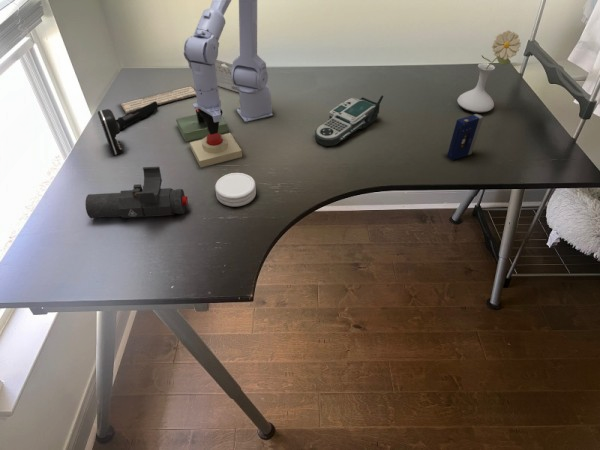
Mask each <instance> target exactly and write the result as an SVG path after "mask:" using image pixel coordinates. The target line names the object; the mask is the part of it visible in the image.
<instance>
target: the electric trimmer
mask: <svg viewBox="0 0 600 450" xmlns="http://www.w3.org/2000/svg"><path fill="white" fill-rule="evenodd" d="M158 106H159V105H157V102H153V103H151V104H148V105H146V106H144V107H142V108H140V109H138V110H136V111H133V112H131V113H127V114H125V115H123V116H120V117H119V116H118V118H117V119H116V122H117V124H118V127H119V130H120V131H123V130H124V129H125V127H127V126H129V125H131V124H133V123H135V122H136V121H138V120H140V119H145V118H147V117H149V116H150V115H151V114H152V113H154V112H155V111H157V110H158V108H159V107H158Z"/></svg>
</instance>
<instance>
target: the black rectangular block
mask: <svg viewBox="0 0 600 450" xmlns="http://www.w3.org/2000/svg"><path fill="white" fill-rule="evenodd" d="M195 115H197V120H198V122H199V123H201V122H205V121H204V119H203V117H202V116H201V114H200V113H199V111H198V109H195Z"/></svg>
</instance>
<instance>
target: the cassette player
mask: <svg viewBox="0 0 600 450" xmlns="http://www.w3.org/2000/svg"><path fill="white" fill-rule="evenodd" d="M483 119H484V116H482V115H481V114H478V113H474V114H471V115H468V116H465V117H461V118H458V119H456V122H455V125H454V129H453V133H452V136H451V140H450V144H449V147H448V150H447V154H446V158H448V159H449V160H451V161H454V160H455V161H456V160H458V159H461V158H463V157H467V156H469V155H472V154H473V150H474V148H475V144H476V141H477V139H478V136H479V131H480V129H481V127H482V123H483Z"/></svg>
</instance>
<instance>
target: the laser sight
mask: <svg viewBox="0 0 600 450" xmlns="http://www.w3.org/2000/svg"><path fill="white" fill-rule="evenodd" d="M142 171H143V185H142V184H141V183H140V184H139V183H138V184H133V188H132V189H129V190H126V189H125V190H120V192H110V193H109V192H108V193H90V194H87V195H86V197H85V203H84V205H85V211H86V214H87V216H88V218H90V219H95V218H113V217H115V218H116V217H122V218H125V219H127V218H145V217H162V216H163V217H165V216H175V214H185V212H186V206H187V207H188V205H189V199H188V195H187V196H186V195H185V191H184V189H183V188H177V189H176V188H175V189H173V188H171V187H167V188H161V187H162V183H163V179H162V174H161V169H160V166H143V167H142Z"/></svg>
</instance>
